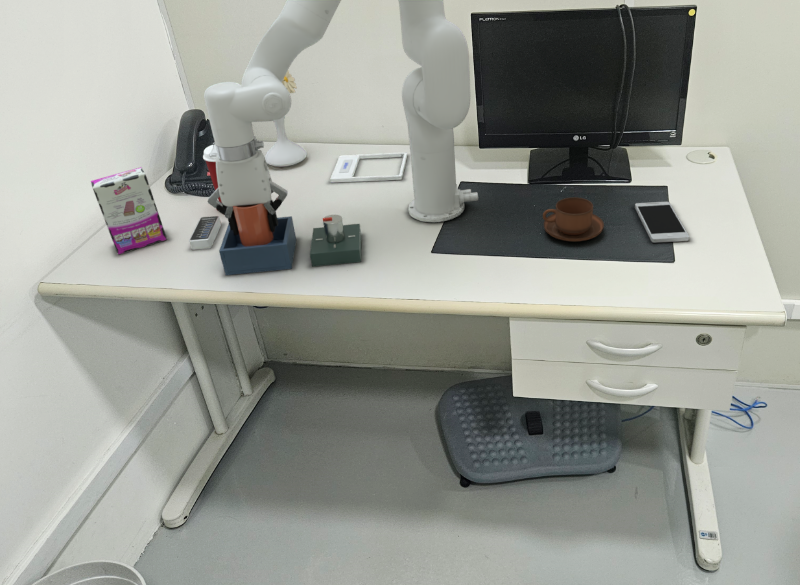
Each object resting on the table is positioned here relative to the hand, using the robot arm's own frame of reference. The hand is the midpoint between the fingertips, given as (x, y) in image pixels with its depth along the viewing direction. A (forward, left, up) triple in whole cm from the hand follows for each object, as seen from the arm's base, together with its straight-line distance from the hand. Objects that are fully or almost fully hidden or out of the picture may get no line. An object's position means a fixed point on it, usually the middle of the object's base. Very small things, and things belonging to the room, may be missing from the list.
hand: (255, 229), depth 146 cm
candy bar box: (+29, -12, -7) cm, 32 cm away
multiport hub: (+14, -12, -7) cm, 19 cm away
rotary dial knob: (-16, 0, -3) cm, 17 cm away
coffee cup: (+10, -26, -7) cm, 28 cm away
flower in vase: (-1, -51, -7) cm, 51 cm away
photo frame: (-23, -40, -7) cm, 46 cm away
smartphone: (-83, +2, -7) cm, 83 cm away
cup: (0, 0, -2) cm, 2 cm away
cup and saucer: (-65, +2, -7) cm, 66 cm away
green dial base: (-16, 0, -7) cm, 17 cm away
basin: (0, 0, -7) cm, 7 cm away
